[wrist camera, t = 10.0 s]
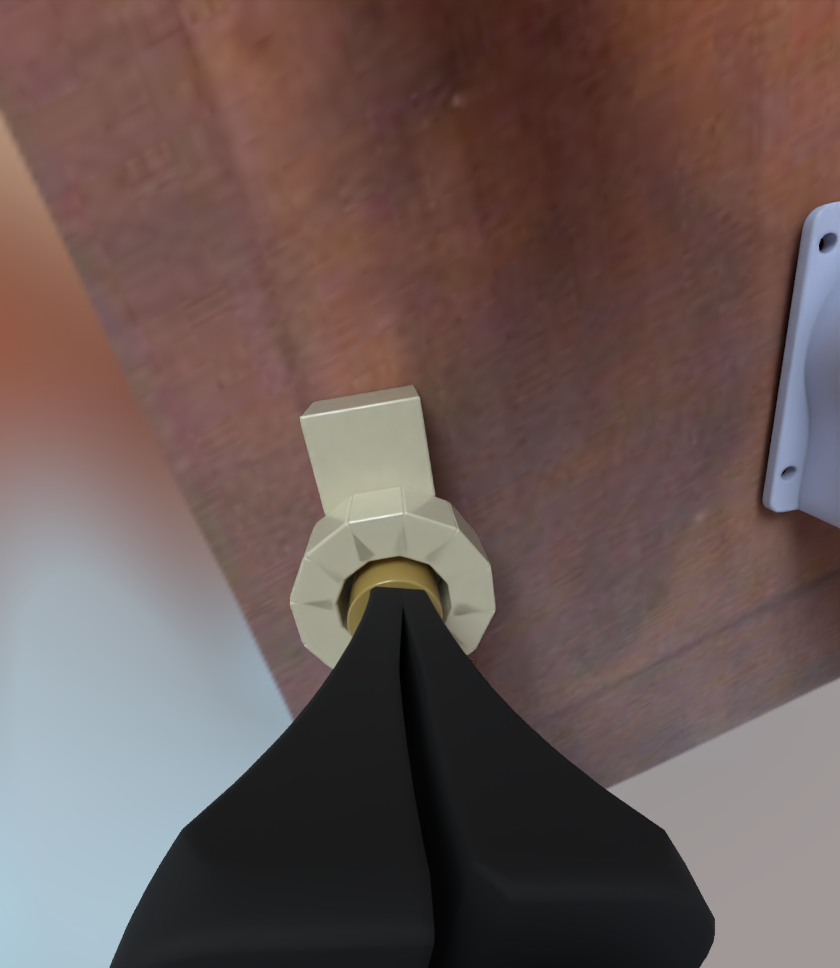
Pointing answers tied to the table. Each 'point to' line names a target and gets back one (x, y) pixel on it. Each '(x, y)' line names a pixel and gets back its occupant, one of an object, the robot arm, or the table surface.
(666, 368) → the table surface
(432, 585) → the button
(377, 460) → the block
